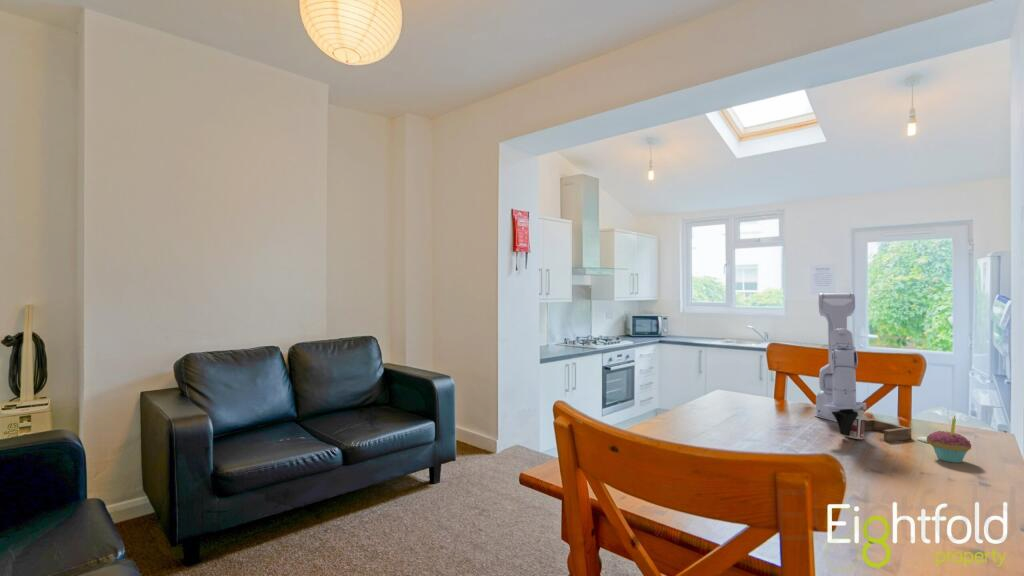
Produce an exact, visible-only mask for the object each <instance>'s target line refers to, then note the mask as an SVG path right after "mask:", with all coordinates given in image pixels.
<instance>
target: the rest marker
mask: <svg viewBox="0 0 1024 576" xmlns="http://www.w3.org/2000/svg"><path fill="white" fill-rule="evenodd" d="M916 439H917V440H918V441H919V442H922V443H924V444H929V443H928V442H927V436H918V437H916Z"/></svg>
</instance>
